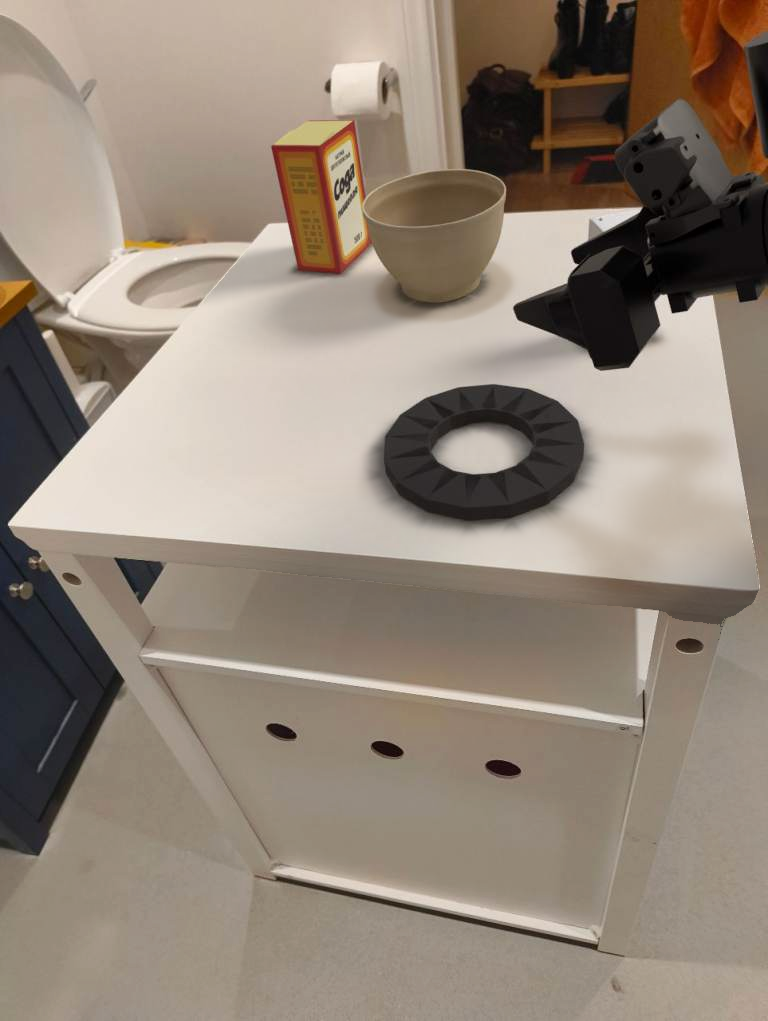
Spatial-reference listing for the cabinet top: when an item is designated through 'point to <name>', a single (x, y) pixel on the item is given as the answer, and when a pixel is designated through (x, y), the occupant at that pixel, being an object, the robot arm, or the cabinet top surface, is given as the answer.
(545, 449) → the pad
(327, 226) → the baking soda box
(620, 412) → the cabinet top surface
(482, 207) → the planter bowl
